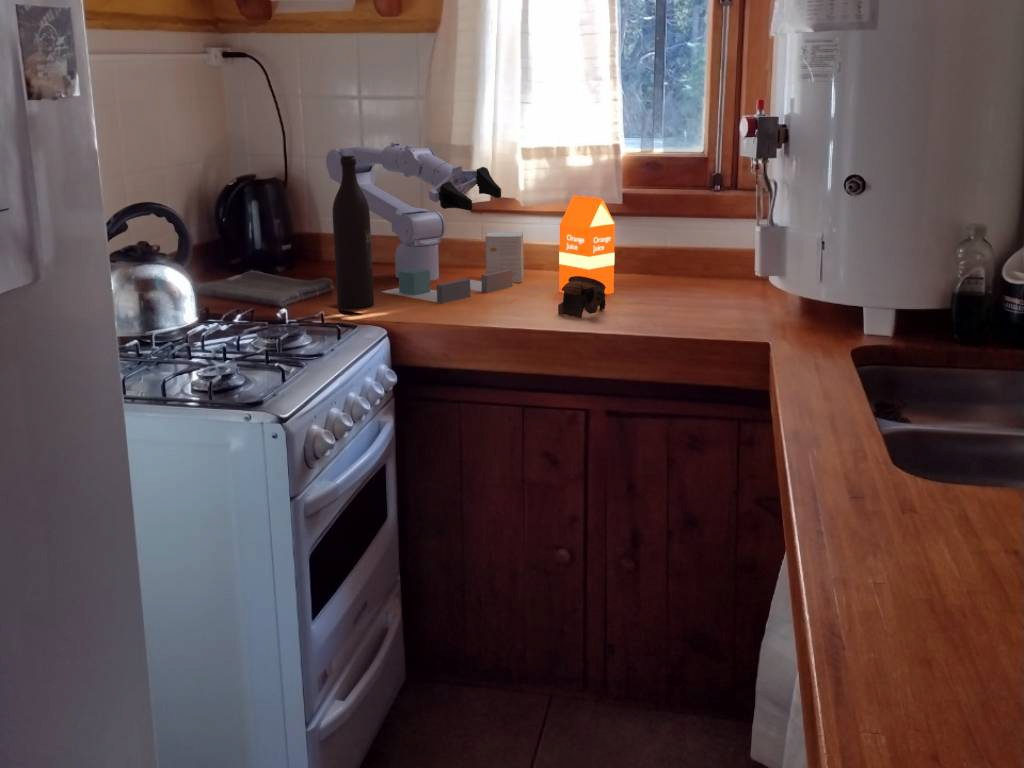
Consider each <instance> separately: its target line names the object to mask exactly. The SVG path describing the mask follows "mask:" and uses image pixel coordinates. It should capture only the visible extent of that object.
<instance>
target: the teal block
mask: <svg viewBox="0 0 1024 768" xmlns="http://www.w3.org/2000/svg"><path fill="white" fill-rule="evenodd" d="M398 288H399V293H404V294H410V295H419V294H423V293H427V292H430V289H431V281H430V270H424V269H418V268H412V269H407V270H401V271H399V278H398Z"/></svg>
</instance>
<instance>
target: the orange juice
mask: <svg viewBox="0 0 1024 768" xmlns="http://www.w3.org/2000/svg"><path fill="white" fill-rule="evenodd" d="M615 227H616V223H615V221H614V219H613V217H612V215H611V213H610V212H609V209H608V207H607V205H606V203H605V201H604V199H603V198H599V197H592V196H591V197H590V196H583V195H582V196H581V195H574V194H573V195H572V197H571V200H570V201H569V204H568V206H567V209H566V210H565V213H564V215H563V216H562V218H561V221H560V223H559V252H558V253H559V254H558V256H559V257H558V261H559V262H558V265H559V267H558V268H559V270H558V271H559V276H558V277H559V280H558V281H559V282H558V283H559V286H558V287H559V288H558V290H559V291H558V292H559V293H563V294H564V291H561V289H562V288H563V287H564V286H565V285H566V284H567V283H568V282H569V281H568V279H569V278H570V277H573V276H583V277H588V278H592V279H595V280H598V281H600V282H601V283H603V284H604V285H605V287H606V288H605V291H604V292H605V294H606V295H610V294H614V290H615V289H614V285H615V283H614V281H615V254H616V253H615V239H616V238H615V236H616V235H615V234H616V233H615V231H616V229H615Z"/></svg>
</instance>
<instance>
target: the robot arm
mask: <svg viewBox="0 0 1024 768" xmlns="http://www.w3.org/2000/svg"><path fill="white" fill-rule="evenodd" d="M341 156H355V158H356V165H355V172H356V179H357V182H358V184H359V187H360V189H361V190H362V192H363V194H364V195H365V198H366V200H367V203H368V206H369V212H372V213H373V214H375V215H377V216H378V217H381V218H382V219H383V220H385V221H387V222H389V224H391V231H392V233H394V234H395V235H396V236H397V237H398V239H399V241H400V242H401V243H399V244H398V246H397V247H396V250H395V252H394V260H395V261H394V263H395V277H396V278H398V279H399V271H401V270H407V269H412V268H418V269H424V270H430V282H431V281H436V280H439V278H440V276H439V275H440V272H439V271H440V270H439V266H440V265H439V243H441V242H442V241H441V239H442V238H443V237H444V235H445V232H446V221H445V218H444V216H443V215H442V213H441V212H440V211H438V210H431V211H430V210H428V209H427V208H420V207H413V206H411V205H409V204H407V203H405V202H404V201H403V200H401V199H399V198H397V197H396V196H394V195H391V194H390V193H389V192H386V191H385V190H383V189H382V188H379V187H378V186H376V185H374V184H375V183H376V174H375V166H376V165H381V166H382V167H383V168H384V170H386V171H388V172H393V173H399V174H400V173H401V174H403V176H404V177H406V178H409V177H413V176H415V177H416V178H419V179H420V180H422V181H423V182H425V183H428V185H430V186H432V187H434V188H432V189H430V190H428V194H429V195H428V197H429V200H430V201H432V202H433V203H437V202H440V203H439V205H440V207H441V208H442V209H443V210H445V209H459V210H465V211H468V212H469V211H472V210H473V200H472V199H471V198H470V197H468V195H466V194H467V193H468V192H469V191H470V190H472V189H473V188H474V187H475V186H477V187H478V194H479V195H488V196H490V197H493V198H496V199H500V198H502V188H501V187H500V186H499V185H498V184H497V182H495V181H494V179H493V177H492V176H491V174H490V171H489V169H488V168H487V167H485V166H482V167H479V168H477V169H463V167H462V166H461V165H459V164H458V165H455V166H454V165H452V164H451V163H448V161H445V160H444V159H442V158H440V157H438V156H436V154H435V152H434V150H433V149H431V148H430V147H428V146H423V147H414V145H413V144H406V145H404V146H403V145H401V142H391V143H390V144H388V145H386V146H385V147H384V148H379V147H375V146H374V147H373V146H370V145H368V146H367V145H365V146H353V147H344V148H338V149H336V148H332V149H330V150H329V151H328V153H327V154H326V158H325V164H326V165H325V166H326V169H327V171H328V174H329V179H330V180H332V181H334V182H336V183H338V184H339V186H340V185H341V183H342V165H341V160H340V159H341Z"/></svg>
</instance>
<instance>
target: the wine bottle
mask: <svg viewBox="0 0 1024 768" xmlns="http://www.w3.org/2000/svg"><path fill="white" fill-rule="evenodd" d="M340 160H341V165H342V183H341V185H340V184H339V188H338V190H337V193H336V194H335V197H334V200H333V205H332V228H333V230H332V231H333V245H334V263H335V264H334V265H335V280H336V283H335V284H336V297H337V298H336V299H337V310H338V313H339V314H342V315H345V316H364V313H363V312H357V311H352V310H365V309H369V308H373V307H374V306H375V299H374V298H375V297H374V275H373V274H374V273H373V255H372V253H373V252H372V234H371V214H370V210H369V206H368V203H367V200H366V198H365V195H364V194H363V192H362V190H361V189H360V187H359V184H358V182H357V179H356V172H355V165H356V158H355V156H341V159H340Z"/></svg>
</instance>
